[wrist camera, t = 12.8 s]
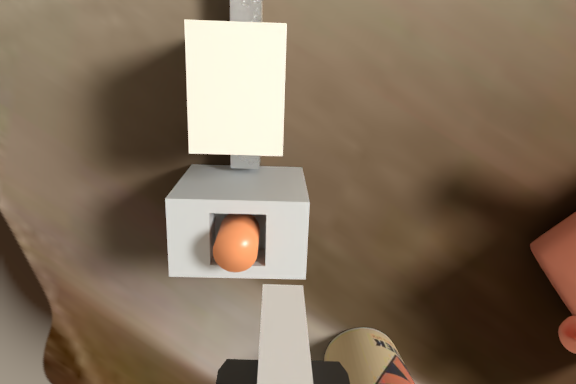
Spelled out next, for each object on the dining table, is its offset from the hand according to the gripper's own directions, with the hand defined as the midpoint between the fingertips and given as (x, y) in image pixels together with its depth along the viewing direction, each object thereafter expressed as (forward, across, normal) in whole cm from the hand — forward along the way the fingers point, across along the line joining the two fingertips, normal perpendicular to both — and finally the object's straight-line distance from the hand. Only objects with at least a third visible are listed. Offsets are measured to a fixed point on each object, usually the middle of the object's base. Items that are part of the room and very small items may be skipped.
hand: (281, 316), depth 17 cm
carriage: (+25, -3, +7) cm, 26 cm away
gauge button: (+17, -3, -4) cm, 17 cm away
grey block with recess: (+25, -3, -4) cm, 25 cm away
